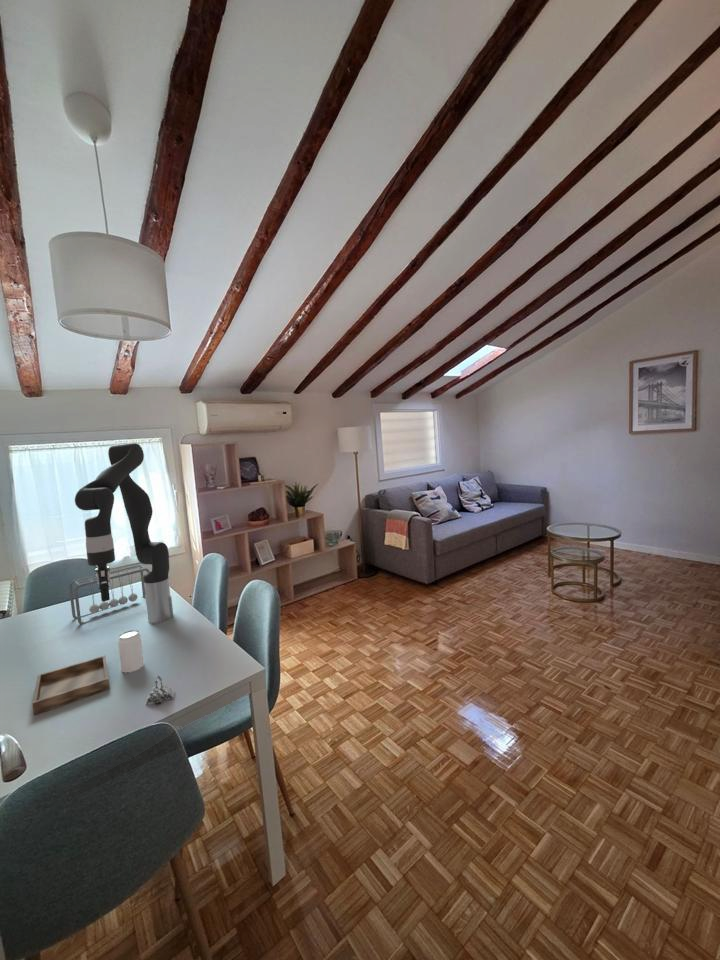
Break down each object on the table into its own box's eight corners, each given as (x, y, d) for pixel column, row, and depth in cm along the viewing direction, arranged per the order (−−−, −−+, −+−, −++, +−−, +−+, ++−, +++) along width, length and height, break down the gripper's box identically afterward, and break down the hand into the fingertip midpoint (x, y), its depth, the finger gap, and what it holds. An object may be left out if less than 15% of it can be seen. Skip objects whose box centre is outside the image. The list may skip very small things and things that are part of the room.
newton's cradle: (145, 599, 198) (141, 563, 197) (153, 603, 191) (149, 567, 190) (72, 620, 176) (67, 581, 175) (78, 627, 169) (73, 586, 168)
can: (133, 674, 129) (130, 639, 128) (116, 673, 130) (112, 638, 129) (148, 663, 135) (144, 629, 134) (131, 662, 137) (128, 629, 136)
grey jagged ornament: (134, 720, 107) (130, 693, 106) (142, 701, 115) (139, 676, 115) (170, 713, 109) (167, 686, 109) (176, 694, 118) (173, 669, 117)
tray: (106, 665, 136) (105, 655, 136) (109, 689, 121) (108, 678, 121) (39, 685, 126) (37, 675, 126) (33, 715, 111) (32, 703, 111)
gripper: (114, 550, 127) (119, 600, 128) (113, 543, 139) (117, 588, 140) (86, 555, 123) (91, 606, 124) (86, 547, 135) (92, 594, 136)
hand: (105, 597), depth 132 cm, fingers open, 8 cm apart
